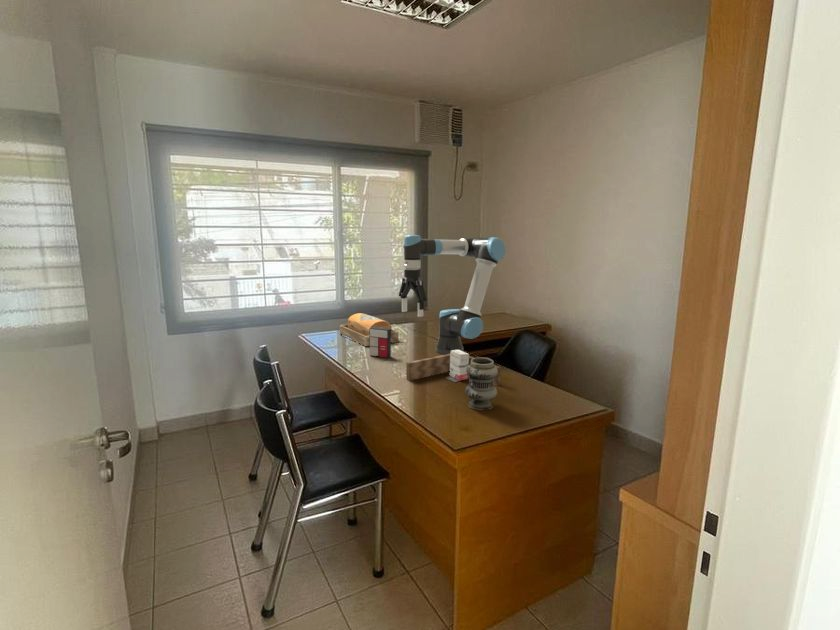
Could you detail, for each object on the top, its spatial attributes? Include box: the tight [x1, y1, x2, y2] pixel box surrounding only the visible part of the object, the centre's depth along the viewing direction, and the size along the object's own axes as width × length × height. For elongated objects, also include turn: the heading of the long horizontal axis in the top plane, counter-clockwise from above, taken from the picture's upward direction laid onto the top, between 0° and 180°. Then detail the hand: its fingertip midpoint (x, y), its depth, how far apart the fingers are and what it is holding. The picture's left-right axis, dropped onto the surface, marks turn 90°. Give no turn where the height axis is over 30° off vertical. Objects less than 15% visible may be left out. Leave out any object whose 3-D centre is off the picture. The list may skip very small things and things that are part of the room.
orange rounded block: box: [347, 312, 393, 336], centre depth 265 cm, size 30×16×14 cm, turn 33°
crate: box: [339, 323, 399, 347], centre depth 267 cm, size 22×35×6 cm, turn 35°
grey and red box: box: [369, 327, 392, 359], centre depth 228 cm, size 11×4×15 cm, turn 68°
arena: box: [405, 354, 501, 387], centre depth 191 cm, size 30×28×8 cm
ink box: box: [449, 350, 470, 382], centre depth 196 cm, size 9×5×12 cm, turn 29°
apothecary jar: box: [464, 356, 498, 411], centre depth 165 cm, size 12×12×18 cm
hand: (412, 314), depth 205 cm, fingers open, 13 cm apart
